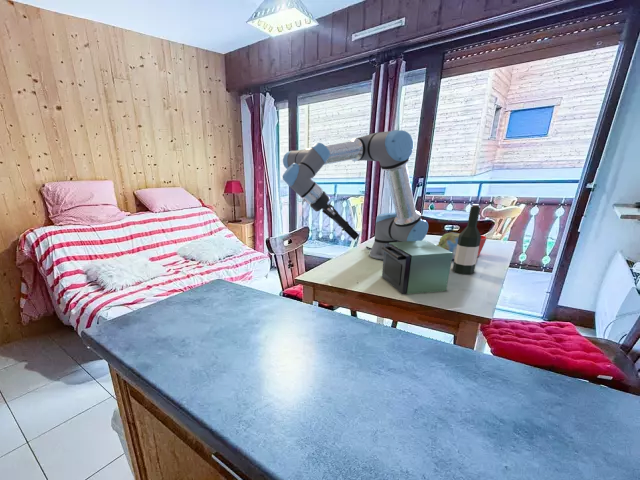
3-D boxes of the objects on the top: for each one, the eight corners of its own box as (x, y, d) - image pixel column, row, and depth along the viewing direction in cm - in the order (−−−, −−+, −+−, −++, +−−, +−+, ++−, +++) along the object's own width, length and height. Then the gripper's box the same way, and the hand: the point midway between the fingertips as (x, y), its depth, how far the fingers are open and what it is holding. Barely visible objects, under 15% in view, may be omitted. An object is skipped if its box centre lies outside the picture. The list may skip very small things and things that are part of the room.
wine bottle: (472, 275, 144) (487, 206, 132) (451, 272, 148) (463, 205, 137) (474, 269, 150) (488, 203, 139) (453, 267, 154) (465, 202, 143)
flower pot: (482, 252, 172) (486, 234, 169) (482, 258, 164) (486, 239, 160) (459, 250, 178) (462, 233, 174) (458, 256, 169) (461, 237, 166)
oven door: (396, 294, 130) (400, 256, 124) (377, 277, 148) (379, 243, 142) (406, 293, 130) (410, 255, 124) (385, 276, 148) (388, 242, 142)
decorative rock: (469, 231, 154) (460, 225, 168) (432, 240, 160) (427, 234, 173) (474, 258, 157) (465, 251, 171) (438, 266, 163) (432, 259, 177)
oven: (406, 294, 130) (411, 255, 124) (385, 276, 148) (389, 242, 142) (446, 291, 130) (453, 252, 124) (420, 274, 149) (425, 240, 143)
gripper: (306, 203, 132) (344, 240, 139) (312, 207, 120) (354, 248, 127) (319, 188, 131) (357, 227, 137) (327, 192, 119) (369, 233, 125)
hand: (356, 237), depth 132 cm, fingers closed
